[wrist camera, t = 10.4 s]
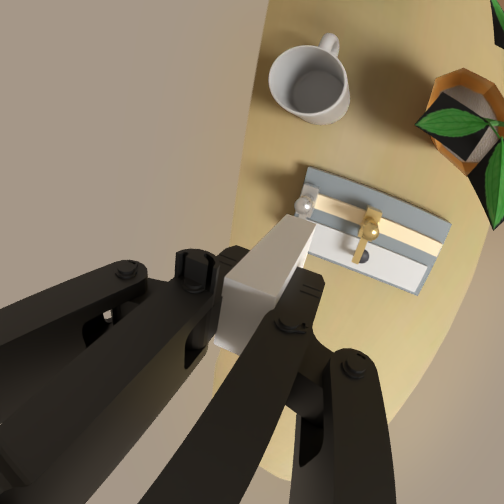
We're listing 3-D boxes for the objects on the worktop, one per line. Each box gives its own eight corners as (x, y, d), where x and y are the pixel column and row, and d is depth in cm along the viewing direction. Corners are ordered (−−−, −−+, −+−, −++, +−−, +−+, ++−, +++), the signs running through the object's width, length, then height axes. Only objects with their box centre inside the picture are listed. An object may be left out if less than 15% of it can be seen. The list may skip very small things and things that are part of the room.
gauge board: (310, 166, 38) (306, 167, 35) (447, 220, 33) (453, 226, 30) (288, 240, 43) (283, 247, 40) (415, 289, 38) (418, 299, 35)
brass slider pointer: (367, 204, 34) (369, 213, 29) (381, 209, 33) (384, 219, 29) (348, 254, 37) (346, 270, 33) (361, 259, 37) (361, 276, 32)
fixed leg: (306, 182, 36) (299, 187, 32) (320, 187, 35) (315, 193, 31) (291, 233, 39) (282, 245, 35) (304, 238, 39) (297, 250, 34)
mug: (337, 134, 35) (331, 129, 25) (282, 112, 36) (256, 101, 27) (366, 63, 29) (368, 34, 20) (309, 43, 31) (292, 12, 21)
